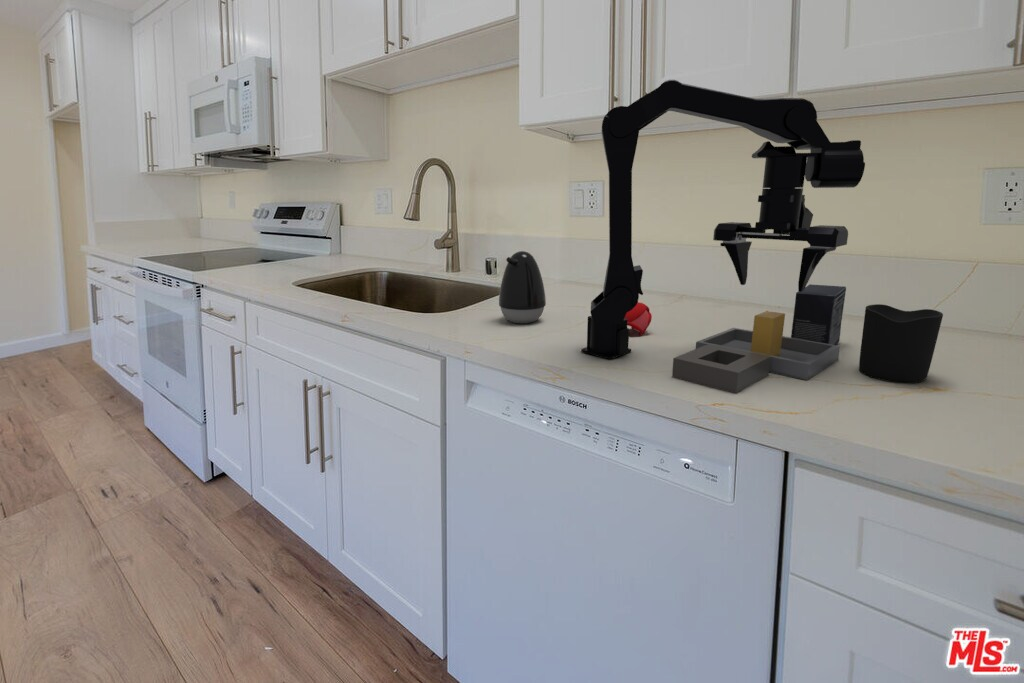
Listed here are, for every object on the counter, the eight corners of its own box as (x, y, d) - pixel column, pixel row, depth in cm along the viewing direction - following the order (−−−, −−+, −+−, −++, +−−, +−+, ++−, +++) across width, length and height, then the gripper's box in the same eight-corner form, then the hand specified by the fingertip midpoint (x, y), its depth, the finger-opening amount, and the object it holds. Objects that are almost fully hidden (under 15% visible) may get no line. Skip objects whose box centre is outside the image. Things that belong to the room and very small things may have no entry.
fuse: (750, 356, 92) (754, 315, 90) (762, 350, 95) (766, 311, 93) (768, 360, 90) (773, 318, 88) (780, 354, 93) (785, 313, 91)
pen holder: (893, 363, 89) (904, 303, 87) (946, 382, 80) (960, 315, 78) (841, 366, 88) (851, 305, 85) (889, 386, 79) (901, 318, 76)
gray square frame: (672, 376, 84) (673, 358, 83) (707, 361, 91) (708, 343, 90) (736, 393, 77) (738, 372, 76) (768, 375, 84) (770, 356, 83)
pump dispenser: (489, 322, 119) (487, 252, 115) (516, 313, 128) (515, 247, 124) (528, 328, 114) (528, 254, 110) (554, 319, 122) (555, 250, 118)
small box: (801, 337, 106) (808, 282, 103) (839, 342, 102) (848, 286, 99) (786, 349, 98) (794, 290, 95) (828, 355, 94) (837, 294, 91)
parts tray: (694, 355, 94) (696, 341, 94) (732, 340, 103) (733, 327, 103) (807, 380, 82) (809, 364, 81) (837, 360, 91) (840, 345, 90)
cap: (643, 311, 114) (620, 297, 112) (659, 307, 108) (634, 292, 107) (628, 345, 112) (604, 331, 111) (644, 343, 106) (618, 328, 105)
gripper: (866, 187, 84) (850, 288, 88) (745, 188, 97) (737, 276, 101) (842, 187, 77) (827, 297, 81) (716, 189, 90) (707, 283, 94)
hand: (770, 287), depth 90 cm, fingers open, 9 cm apart
